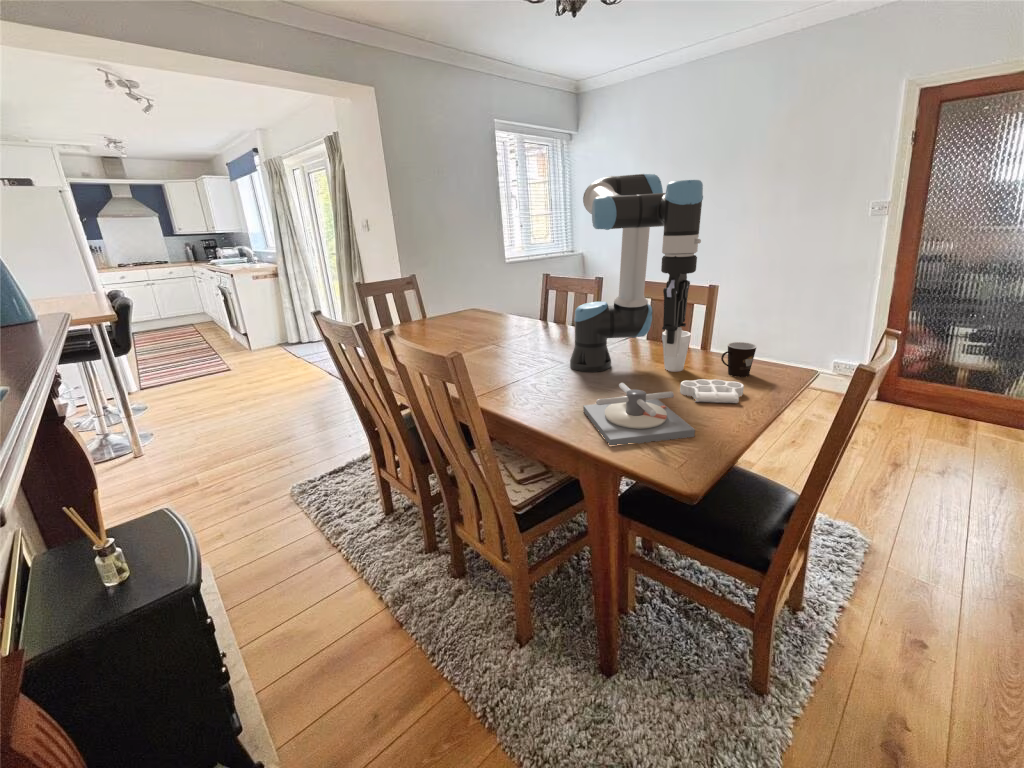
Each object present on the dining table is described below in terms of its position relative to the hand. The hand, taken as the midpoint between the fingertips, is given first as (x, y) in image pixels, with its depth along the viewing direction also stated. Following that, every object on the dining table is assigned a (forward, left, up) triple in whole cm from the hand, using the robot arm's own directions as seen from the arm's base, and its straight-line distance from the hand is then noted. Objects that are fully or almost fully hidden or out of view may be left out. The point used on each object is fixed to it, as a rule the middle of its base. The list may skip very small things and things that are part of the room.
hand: (672, 354), depth 111 cm
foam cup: (-45, +25, -21) cm, 55 cm away
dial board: (-6, -6, -20) cm, 22 cm away
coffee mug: (-34, +41, -21) cm, 57 cm away
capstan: (-6, -6, -18) cm, 20 cm away
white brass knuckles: (-19, +24, -21) cm, 37 cm away
